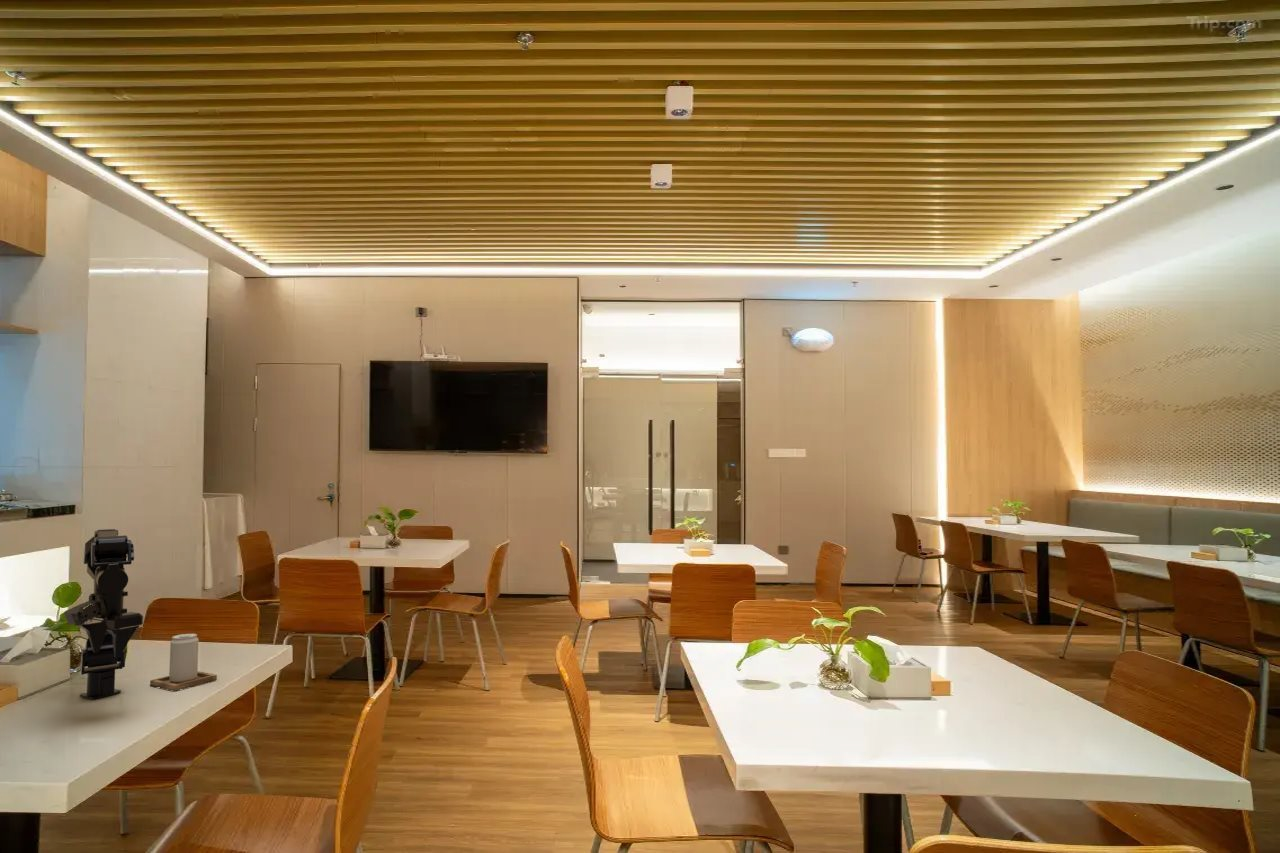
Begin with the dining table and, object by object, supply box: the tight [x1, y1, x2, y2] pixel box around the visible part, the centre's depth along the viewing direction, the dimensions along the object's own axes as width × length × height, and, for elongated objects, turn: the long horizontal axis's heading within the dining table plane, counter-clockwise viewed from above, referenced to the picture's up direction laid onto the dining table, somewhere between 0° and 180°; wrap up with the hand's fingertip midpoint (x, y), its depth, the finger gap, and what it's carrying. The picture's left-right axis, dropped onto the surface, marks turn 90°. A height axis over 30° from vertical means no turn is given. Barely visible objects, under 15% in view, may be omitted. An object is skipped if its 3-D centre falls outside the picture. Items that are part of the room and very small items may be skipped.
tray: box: [149, 670, 218, 692], centre depth 192 cm, size 11×11×2 cm
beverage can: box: [168, 633, 199, 684], centre depth 192 cm, size 6×6×12 cm
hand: (106, 654), depth 171 cm, fingers open, 9 cm apart
